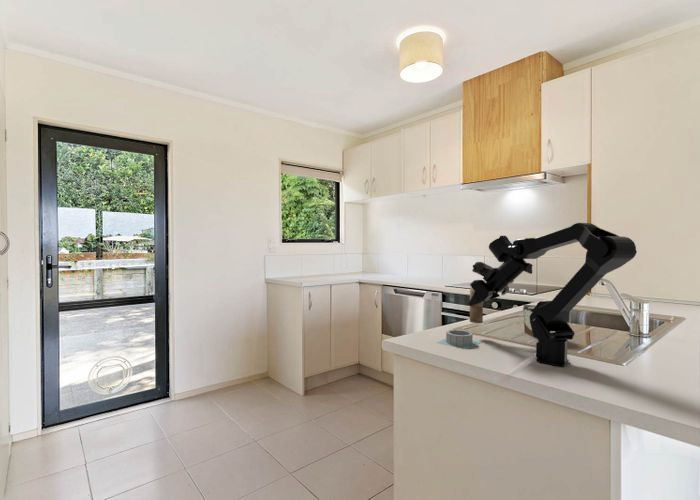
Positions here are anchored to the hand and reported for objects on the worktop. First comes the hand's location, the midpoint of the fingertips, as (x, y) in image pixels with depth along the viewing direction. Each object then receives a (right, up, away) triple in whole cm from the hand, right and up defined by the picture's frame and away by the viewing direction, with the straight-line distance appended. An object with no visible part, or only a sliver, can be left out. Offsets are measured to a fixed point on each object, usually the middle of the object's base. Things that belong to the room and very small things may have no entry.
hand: (472, 304), depth 118 cm
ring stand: (-7, -12, -7) cm, 15 cm away
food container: (+25, -12, +5) cm, 28 cm away
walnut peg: (+1, -6, -1) cm, 6 cm away
